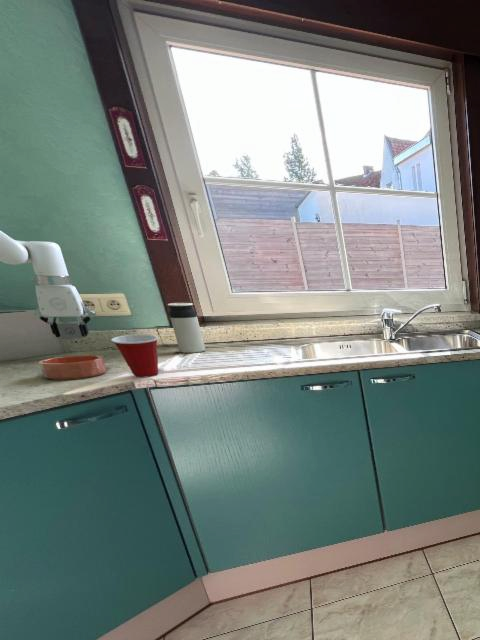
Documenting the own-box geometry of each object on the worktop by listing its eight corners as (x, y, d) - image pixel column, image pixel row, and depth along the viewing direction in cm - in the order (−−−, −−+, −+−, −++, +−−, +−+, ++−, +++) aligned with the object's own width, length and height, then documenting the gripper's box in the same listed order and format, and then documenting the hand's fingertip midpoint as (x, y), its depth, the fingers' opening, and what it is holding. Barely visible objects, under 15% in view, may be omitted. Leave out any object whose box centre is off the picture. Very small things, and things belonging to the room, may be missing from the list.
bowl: (37, 382, 144) (30, 365, 142) (55, 372, 155) (49, 356, 153) (99, 378, 150) (93, 362, 148) (112, 369, 161) (107, 354, 159)
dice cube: (62, 337, 169) (57, 322, 168) (82, 336, 173) (78, 321, 171) (61, 338, 166) (56, 323, 164) (82, 338, 169) (77, 323, 168)
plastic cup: (126, 381, 148) (112, 341, 144) (121, 374, 155) (108, 336, 150) (171, 375, 156) (160, 337, 151) (165, 370, 162) (154, 333, 158)
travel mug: (208, 351, 192) (196, 304, 186) (183, 354, 186) (169, 305, 180) (202, 348, 197) (189, 302, 190) (177, 351, 191) (163, 303, 184)
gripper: (11, 281, 156) (31, 338, 162) (86, 282, 164) (102, 337, 170) (22, 280, 162) (41, 335, 168) (93, 281, 170) (109, 334, 176)
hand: (71, 335), depth 169 cm, fingers closed on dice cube, 5 cm apart
